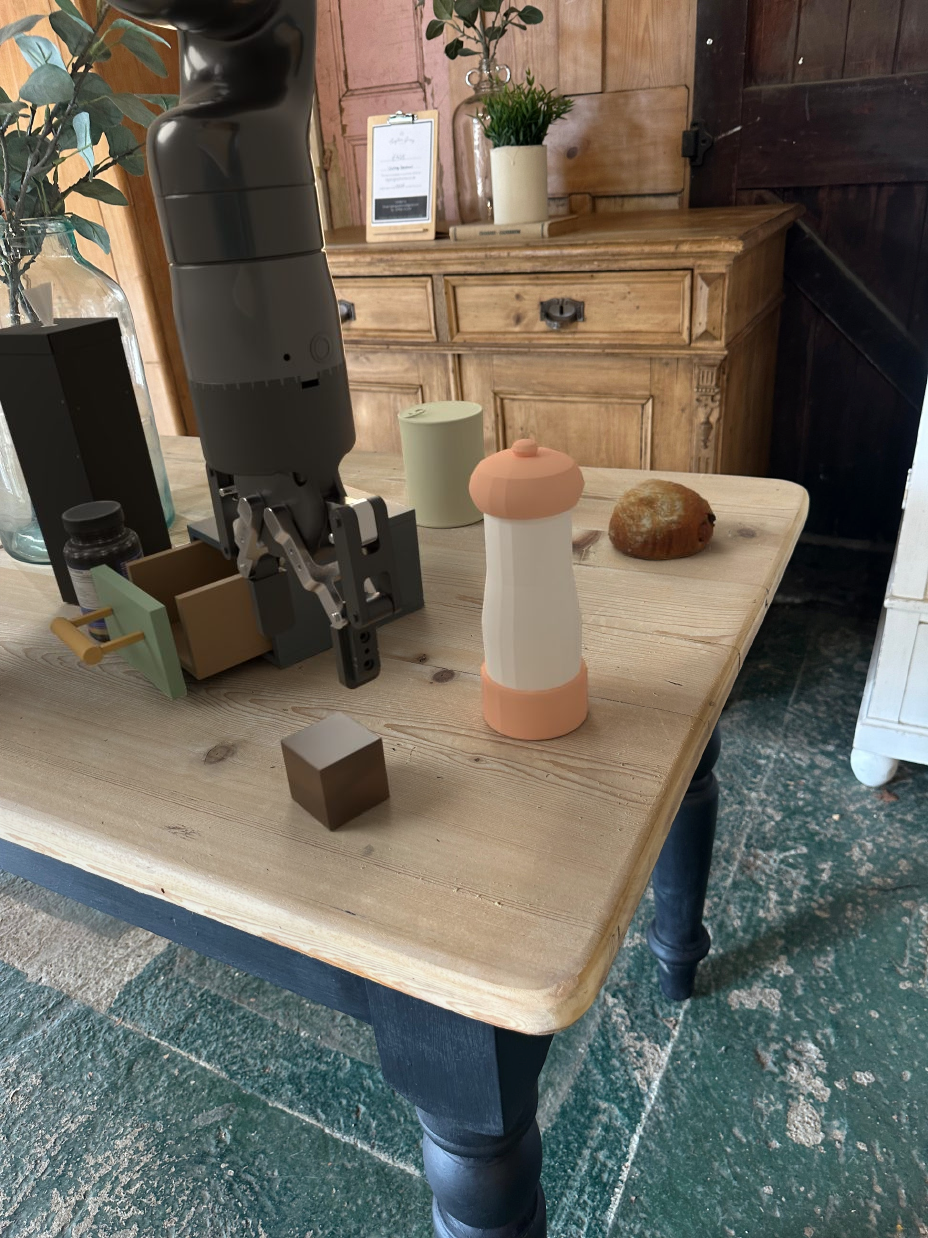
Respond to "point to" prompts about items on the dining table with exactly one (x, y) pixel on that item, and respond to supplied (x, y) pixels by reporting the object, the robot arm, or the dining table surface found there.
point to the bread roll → (661, 521)
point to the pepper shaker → (530, 593)
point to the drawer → (172, 617)
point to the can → (442, 460)
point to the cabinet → (308, 609)
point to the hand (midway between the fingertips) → (317, 655)
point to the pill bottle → (97, 552)
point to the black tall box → (77, 426)
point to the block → (335, 769)
